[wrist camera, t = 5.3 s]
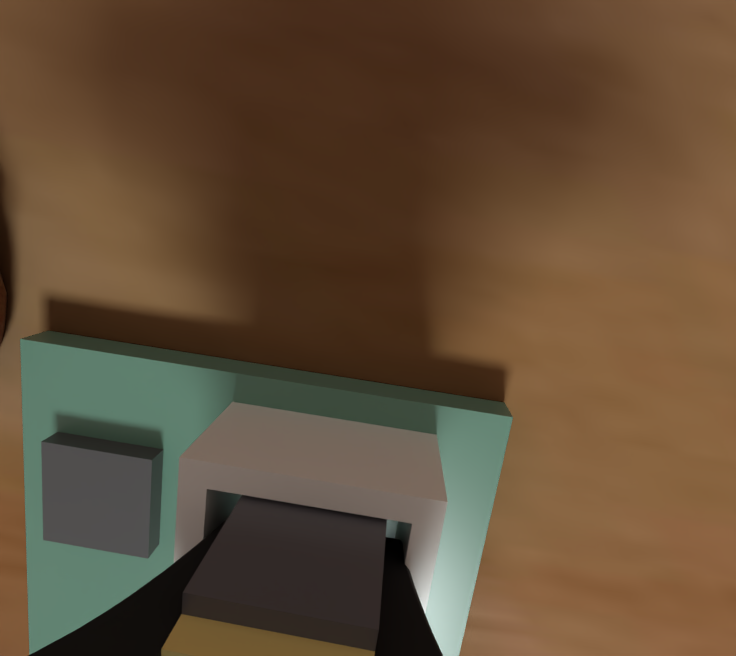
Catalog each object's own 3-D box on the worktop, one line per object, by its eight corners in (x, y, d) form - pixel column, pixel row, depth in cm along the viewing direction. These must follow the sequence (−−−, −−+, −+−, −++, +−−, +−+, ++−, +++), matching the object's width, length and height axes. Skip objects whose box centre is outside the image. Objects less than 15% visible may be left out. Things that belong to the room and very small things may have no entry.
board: (411, 826, 16) (412, 931, 14) (54, 756, 17) (-4, 846, 14) (504, 402, 13) (528, 444, 10) (48, 330, 13) (-32, 354, 11)
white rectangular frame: (398, 636, 13) (397, 750, 11) (216, 604, 14) (165, 707, 11) (436, 434, 12) (447, 501, 9) (232, 401, 12) (179, 456, 9)
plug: (368, 591, 13) (339, 870, 7) (261, 571, 13) (153, 829, 7) (391, 460, 12) (376, 667, 6) (274, 439, 12) (162, 625, 6)
